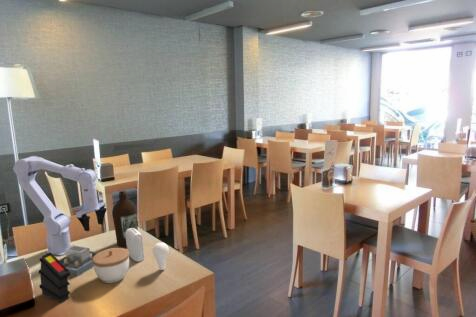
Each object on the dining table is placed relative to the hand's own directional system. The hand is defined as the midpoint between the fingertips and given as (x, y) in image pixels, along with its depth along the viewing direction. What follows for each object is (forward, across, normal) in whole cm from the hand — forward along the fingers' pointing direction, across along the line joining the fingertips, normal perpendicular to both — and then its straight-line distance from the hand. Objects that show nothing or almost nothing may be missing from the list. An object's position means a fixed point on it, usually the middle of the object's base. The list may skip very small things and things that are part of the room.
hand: (94, 227), depth 145 cm
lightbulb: (+11, -5, -39) cm, 41 cm away
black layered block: (+11, -32, -15) cm, 37 cm away
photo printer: (+11, 0, -22) cm, 24 cm away
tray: (+10, -13, -4) cm, 17 cm away
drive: (+9, -13, -4) cm, 17 cm away
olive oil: (+11, +10, -9) cm, 17 cm away
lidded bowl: (+11, -16, -25) cm, 31 cm away
